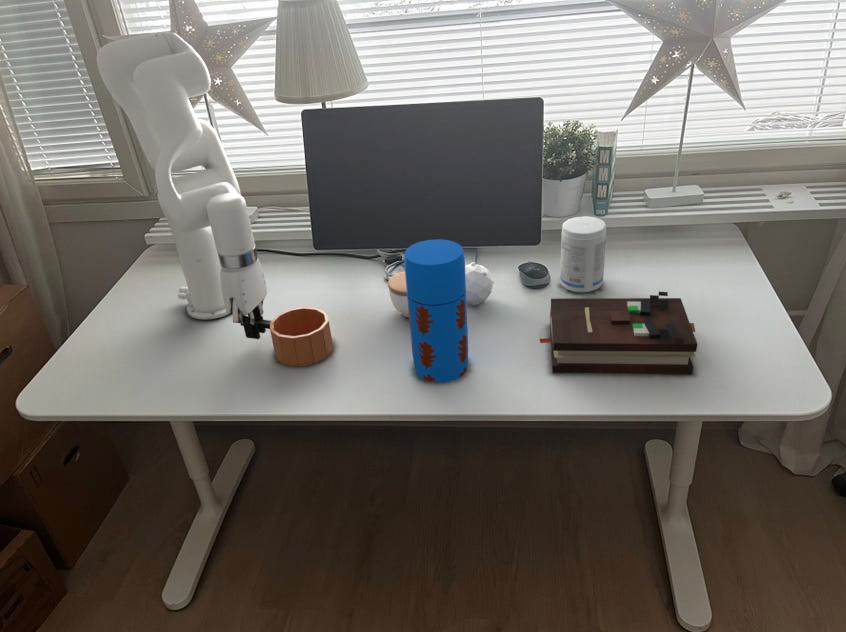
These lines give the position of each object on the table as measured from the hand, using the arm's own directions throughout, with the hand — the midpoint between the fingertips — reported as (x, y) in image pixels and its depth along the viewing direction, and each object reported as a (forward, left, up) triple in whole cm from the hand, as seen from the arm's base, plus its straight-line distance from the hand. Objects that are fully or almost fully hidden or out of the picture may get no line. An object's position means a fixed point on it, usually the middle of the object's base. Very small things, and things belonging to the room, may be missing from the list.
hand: (256, 334), depth 152 cm
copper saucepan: (+7, 0, -3) cm, 8 cm away
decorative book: (+73, +13, -3) cm, 74 cm away
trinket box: (+29, +20, -3) cm, 35 cm away
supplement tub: (+63, +39, -3) cm, 74 cm away
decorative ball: (+41, +28, -3) cm, 50 cm away
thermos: (+41, 0, -3) cm, 41 cm away
